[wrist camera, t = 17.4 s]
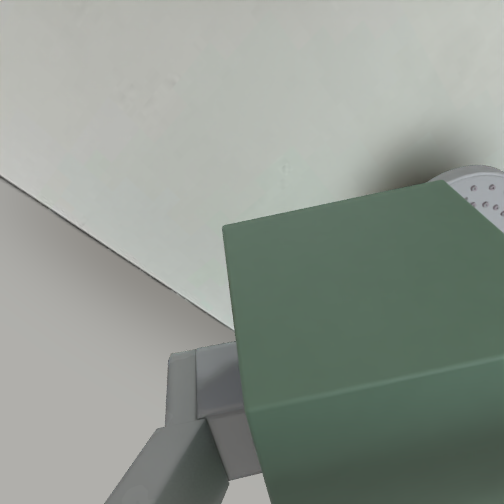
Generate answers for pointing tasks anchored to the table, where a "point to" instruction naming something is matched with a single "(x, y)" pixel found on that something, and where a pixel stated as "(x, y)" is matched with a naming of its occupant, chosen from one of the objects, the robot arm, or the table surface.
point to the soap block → (373, 348)
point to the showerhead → (479, 189)
